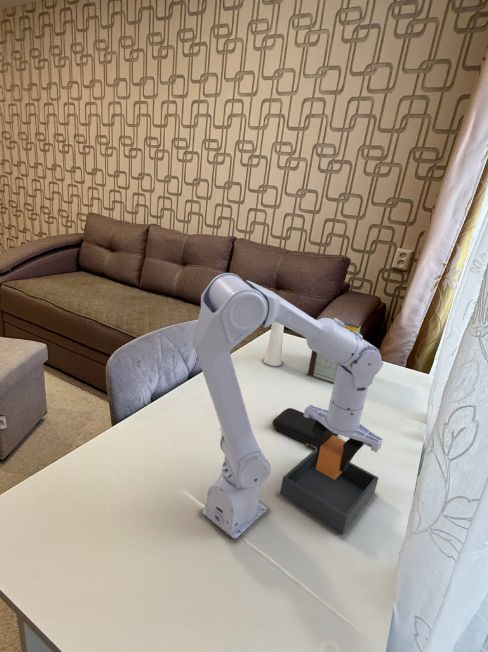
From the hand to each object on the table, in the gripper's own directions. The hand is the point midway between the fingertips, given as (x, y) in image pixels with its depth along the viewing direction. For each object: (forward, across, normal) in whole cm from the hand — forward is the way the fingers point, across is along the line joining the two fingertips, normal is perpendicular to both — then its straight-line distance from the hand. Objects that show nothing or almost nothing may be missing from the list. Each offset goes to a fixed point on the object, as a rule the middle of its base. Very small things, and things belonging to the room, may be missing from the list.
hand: (332, 462), depth 76 cm
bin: (+8, 0, 0) cm, 8 cm away
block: (+1, 0, 0) cm, 1 cm away
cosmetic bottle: (0, +39, -30) cm, 49 cm away
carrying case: (+8, +14, -14) cm, 21 cm away
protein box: (+8, +26, -51) cm, 58 cm away
